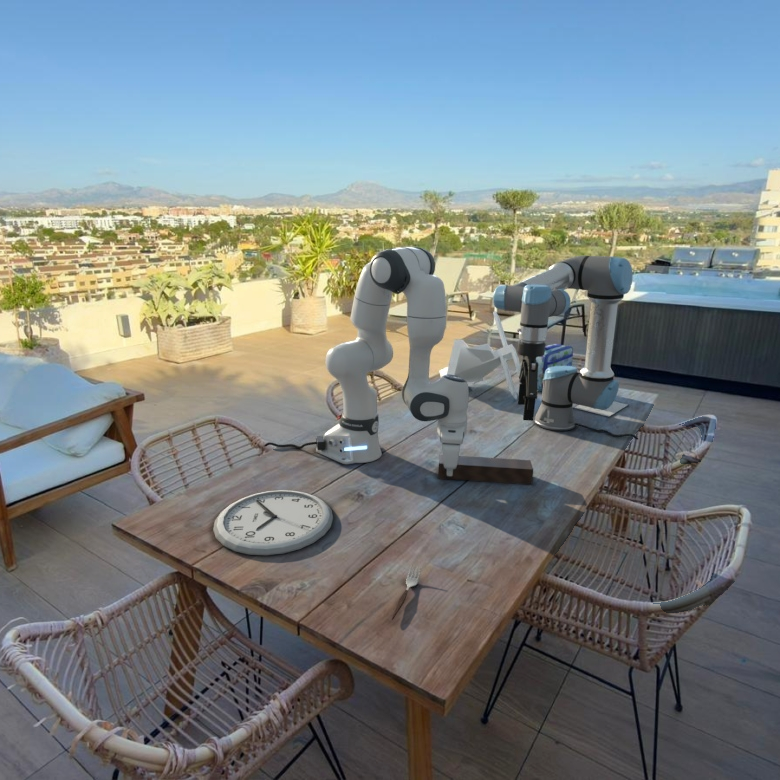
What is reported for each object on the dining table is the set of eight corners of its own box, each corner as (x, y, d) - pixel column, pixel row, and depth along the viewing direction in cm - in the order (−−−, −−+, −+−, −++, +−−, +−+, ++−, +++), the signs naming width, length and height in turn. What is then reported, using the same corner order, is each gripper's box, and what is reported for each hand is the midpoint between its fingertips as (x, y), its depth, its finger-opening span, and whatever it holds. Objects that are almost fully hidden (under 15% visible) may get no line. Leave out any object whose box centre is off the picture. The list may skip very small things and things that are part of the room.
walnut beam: (528, 474, 163) (530, 460, 161) (531, 484, 156) (533, 469, 155) (438, 468, 165) (439, 454, 164) (438, 478, 159) (438, 463, 158)
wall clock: (331, 546, 121) (198, 551, 119) (331, 552, 122) (199, 557, 119) (333, 485, 150) (227, 488, 147) (334, 490, 150) (227, 493, 148)
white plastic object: (461, 429, 252) (437, 405, 227) (444, 352, 274) (420, 323, 250) (535, 404, 240) (518, 377, 215) (510, 326, 262) (492, 293, 237)
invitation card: (608, 416, 214) (573, 407, 224) (608, 416, 214) (573, 408, 224) (628, 404, 229) (594, 396, 238) (628, 405, 229) (594, 397, 238)
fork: (385, 619, 101) (385, 611, 101) (410, 571, 116) (411, 563, 115) (398, 623, 100) (398, 614, 100) (422, 574, 115) (422, 566, 114)
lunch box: (545, 396, 239) (550, 351, 232) (524, 391, 246) (528, 347, 240) (572, 385, 256) (577, 343, 250) (552, 380, 263) (557, 339, 257)
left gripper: (442, 415, 168) (440, 455, 172) (440, 439, 148) (438, 483, 152) (462, 416, 167) (459, 456, 171) (462, 441, 147) (460, 485, 152)
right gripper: (513, 332, 159) (507, 398, 166) (524, 350, 136) (516, 426, 142) (539, 333, 158) (532, 399, 165) (553, 351, 135) (545, 428, 141)
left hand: (449, 469), depth 161 cm, fingers closed on walnut beam, 6 cm apart
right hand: (524, 412), depth 153 cm, fingers open, 13 cm apart
